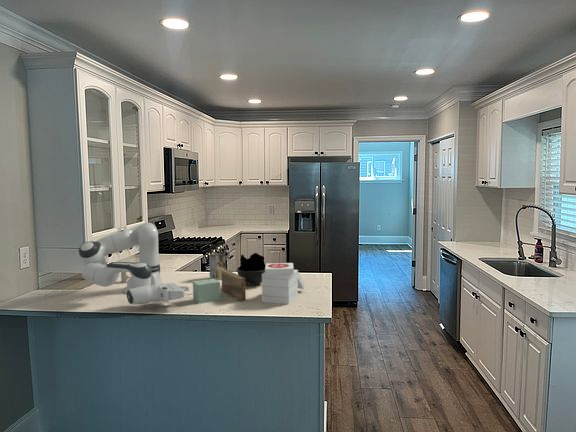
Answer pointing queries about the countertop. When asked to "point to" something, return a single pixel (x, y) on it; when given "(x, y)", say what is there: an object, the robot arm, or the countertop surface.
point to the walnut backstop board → (233, 285)
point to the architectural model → (124, 277)
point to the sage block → (206, 290)
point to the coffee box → (217, 265)
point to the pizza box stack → (281, 283)
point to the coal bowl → (252, 269)
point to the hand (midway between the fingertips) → (187, 288)
